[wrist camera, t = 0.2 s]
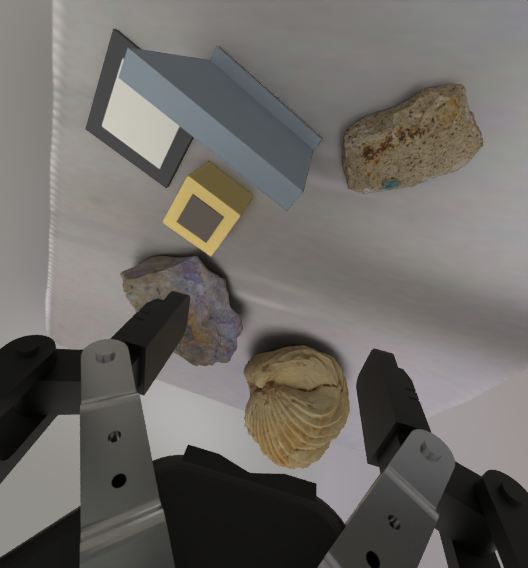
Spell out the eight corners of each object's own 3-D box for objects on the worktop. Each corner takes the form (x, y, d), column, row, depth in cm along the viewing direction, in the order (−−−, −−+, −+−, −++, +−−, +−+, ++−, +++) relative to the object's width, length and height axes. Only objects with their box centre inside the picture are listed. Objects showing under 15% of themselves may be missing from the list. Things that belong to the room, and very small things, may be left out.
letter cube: (207, 159, 32) (185, 174, 27) (253, 195, 33) (240, 216, 28) (184, 201, 35) (159, 221, 30) (226, 233, 37) (210, 257, 32)
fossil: (311, 310, 41) (304, 407, 29) (364, 386, 48) (375, 490, 36) (228, 341, 48) (193, 431, 36) (284, 404, 54) (271, 497, 42)
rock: (331, 127, 28) (330, 135, 25) (464, 65, 24) (486, 63, 21) (353, 200, 32) (356, 216, 28) (474, 157, 28) (494, 169, 24)
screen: (219, 46, 26) (135, 22, 15) (321, 137, 29) (316, 176, 17) (198, 90, 28) (111, 98, 17) (295, 171, 31) (276, 224, 20)
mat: (117, 29, 27) (112, 28, 26) (209, 106, 29) (206, 106, 28) (89, 128, 32) (84, 129, 32) (168, 186, 34) (165, 188, 34)
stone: (242, 337, 30) (203, 408, 38) (272, 285, 38) (234, 353, 47) (91, 251, 30) (86, 340, 39) (154, 219, 39) (138, 298, 48)
